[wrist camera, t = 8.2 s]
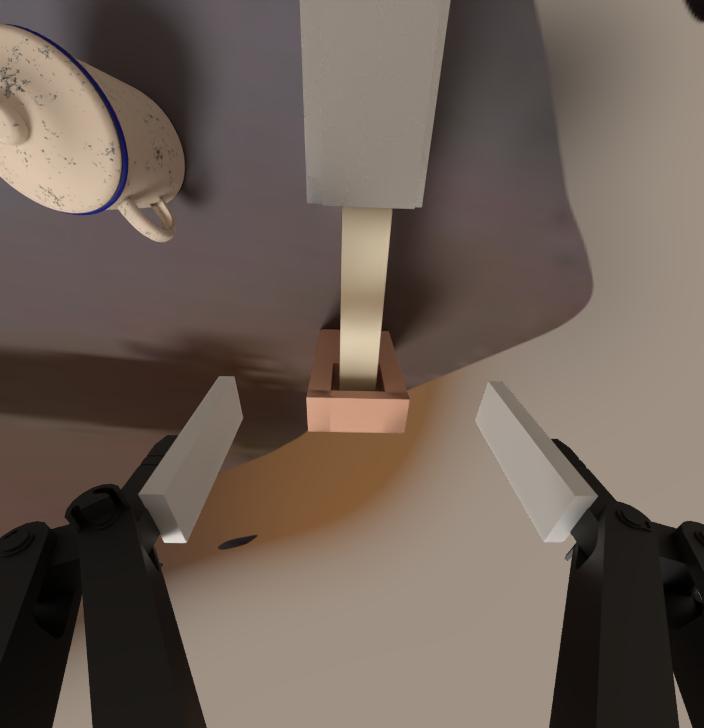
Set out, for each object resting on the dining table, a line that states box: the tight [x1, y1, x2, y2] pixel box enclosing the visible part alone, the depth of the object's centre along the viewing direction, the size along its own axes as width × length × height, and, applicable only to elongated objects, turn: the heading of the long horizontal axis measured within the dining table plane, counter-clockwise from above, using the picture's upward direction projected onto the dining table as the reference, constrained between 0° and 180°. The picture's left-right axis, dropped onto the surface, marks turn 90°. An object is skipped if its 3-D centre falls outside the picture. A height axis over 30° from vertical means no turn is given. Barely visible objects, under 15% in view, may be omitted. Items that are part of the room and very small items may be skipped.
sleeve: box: [300, 0, 451, 209], centre depth 19 cm, size 11×8×13 cm
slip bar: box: [339, 206, 393, 391], centre depth 21 cm, size 19×3×3 cm, turn 178°
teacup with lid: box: [0, 24, 185, 242], centre depth 21 cm, size 12×9×12 cm
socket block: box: [306, 329, 410, 433], centre depth 29 cm, size 4×8×13 cm, turn 88°
